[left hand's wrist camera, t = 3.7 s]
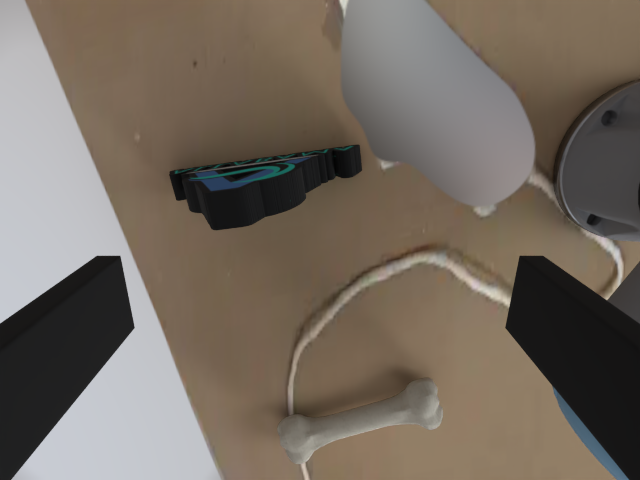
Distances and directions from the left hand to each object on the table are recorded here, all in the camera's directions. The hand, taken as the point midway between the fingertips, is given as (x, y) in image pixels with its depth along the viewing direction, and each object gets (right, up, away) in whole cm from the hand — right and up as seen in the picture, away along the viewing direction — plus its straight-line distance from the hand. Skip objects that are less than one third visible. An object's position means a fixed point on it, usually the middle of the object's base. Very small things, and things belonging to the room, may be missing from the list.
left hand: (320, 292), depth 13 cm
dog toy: (+5, -19, +36) cm, 41 cm away
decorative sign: (-5, +9, +26) cm, 28 cm away
